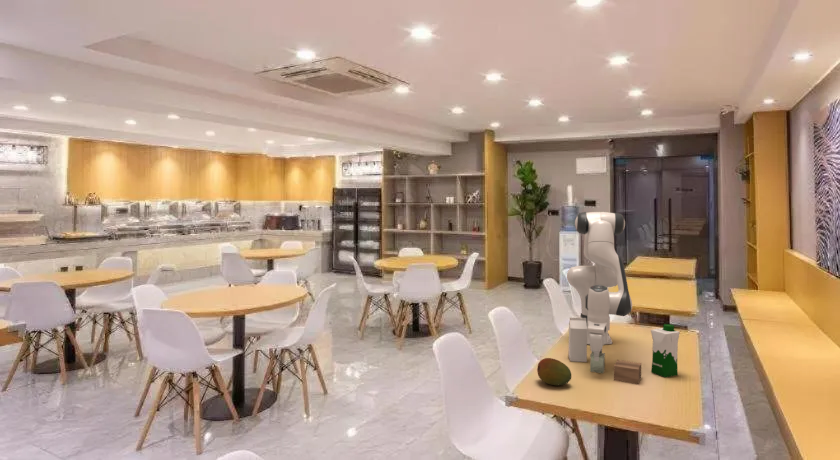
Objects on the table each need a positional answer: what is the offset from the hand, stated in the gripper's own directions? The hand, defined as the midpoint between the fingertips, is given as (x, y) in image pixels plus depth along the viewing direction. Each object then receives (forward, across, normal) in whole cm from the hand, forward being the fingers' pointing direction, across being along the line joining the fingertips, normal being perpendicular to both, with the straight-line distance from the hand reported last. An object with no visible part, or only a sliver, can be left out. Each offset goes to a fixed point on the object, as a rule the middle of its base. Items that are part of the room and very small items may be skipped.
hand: (598, 357), depth 203 cm
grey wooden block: (+6, 0, 0) cm, 6 cm away
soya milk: (+6, -8, +25) cm, 27 cm away
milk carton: (+6, -13, -10) cm, 17 cm away
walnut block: (+6, +4, +12) cm, 14 cm away
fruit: (+6, +23, -13) cm, 28 cm away
